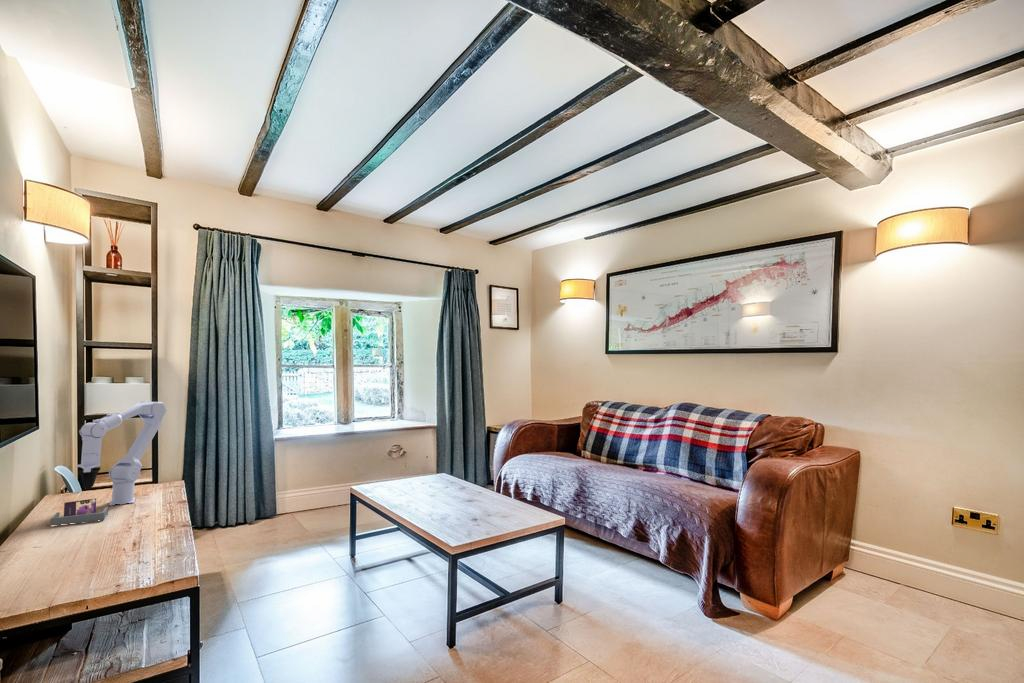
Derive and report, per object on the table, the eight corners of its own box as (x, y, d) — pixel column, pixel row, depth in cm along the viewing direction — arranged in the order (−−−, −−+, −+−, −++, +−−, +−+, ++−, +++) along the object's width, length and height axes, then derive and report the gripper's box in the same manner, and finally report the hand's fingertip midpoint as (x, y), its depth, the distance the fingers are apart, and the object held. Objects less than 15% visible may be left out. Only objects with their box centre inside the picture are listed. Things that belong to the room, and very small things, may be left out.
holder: (56, 520, 175) (56, 512, 175) (107, 514, 183) (108, 506, 183) (50, 527, 168) (50, 518, 168) (103, 520, 176) (104, 512, 176)
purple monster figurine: (64, 502, 176) (96, 498, 183) (63, 504, 179) (94, 500, 186) (63, 521, 174) (95, 516, 181) (62, 522, 177) (94, 517, 184)
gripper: (81, 451, 192) (78, 485, 191) (74, 456, 180) (71, 492, 179) (104, 449, 196) (101, 483, 195) (98, 455, 184) (95, 490, 183)
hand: (88, 487), depth 187 cm, fingers open, 3 cm apart
